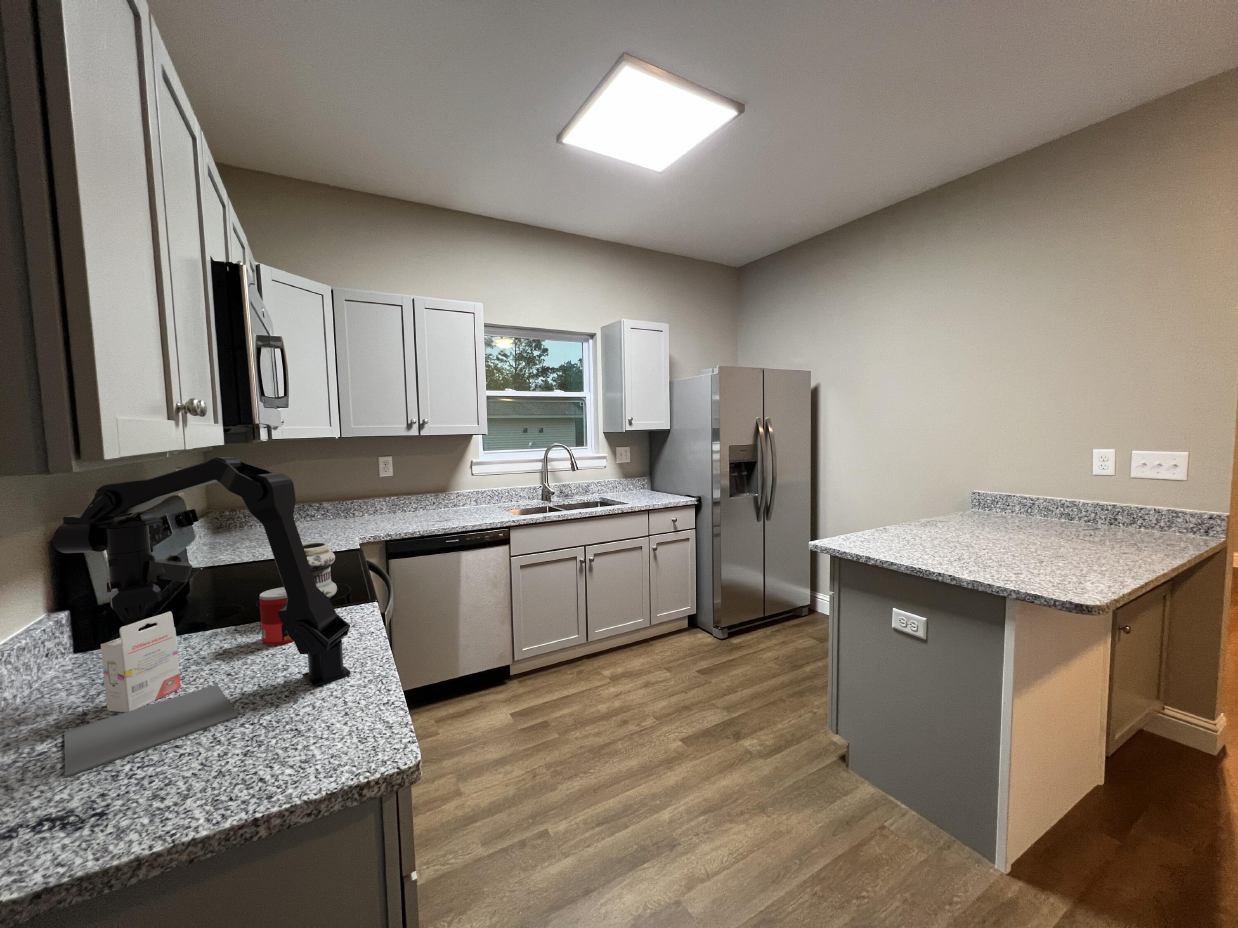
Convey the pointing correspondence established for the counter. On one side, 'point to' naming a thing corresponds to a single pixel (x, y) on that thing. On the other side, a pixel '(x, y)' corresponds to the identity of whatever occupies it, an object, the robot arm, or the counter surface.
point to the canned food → (273, 616)
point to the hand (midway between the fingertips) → (136, 633)
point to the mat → (144, 728)
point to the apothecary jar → (321, 566)
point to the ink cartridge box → (141, 664)
